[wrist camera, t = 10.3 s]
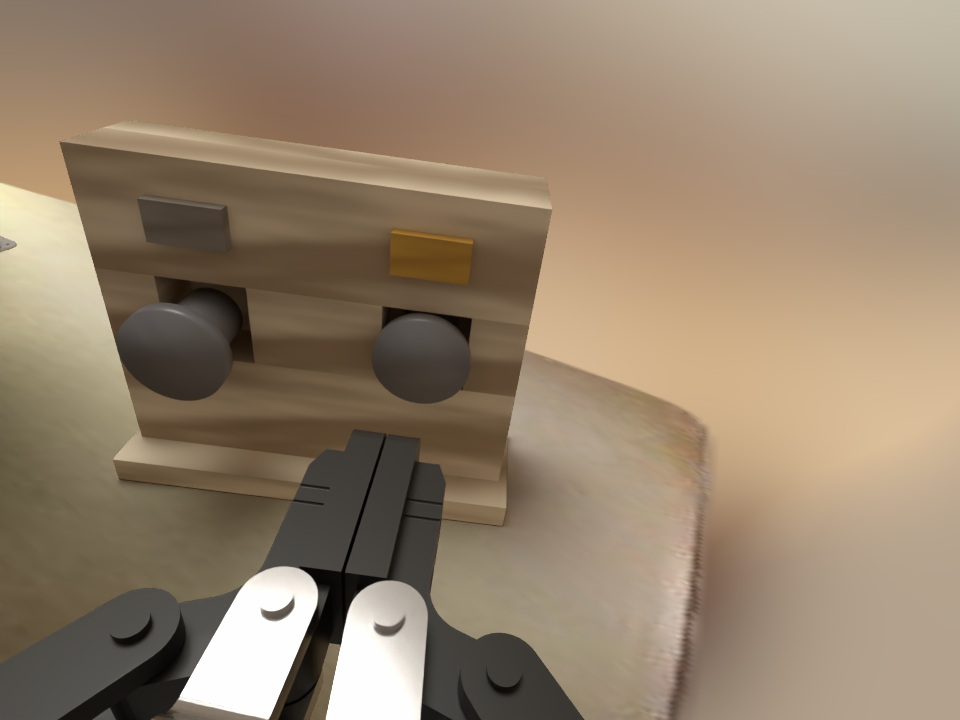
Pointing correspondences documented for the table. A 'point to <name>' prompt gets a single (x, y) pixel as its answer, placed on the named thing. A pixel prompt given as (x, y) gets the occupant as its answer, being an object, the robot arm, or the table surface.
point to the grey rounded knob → (422, 357)
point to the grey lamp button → (182, 344)
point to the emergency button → (6, 244)
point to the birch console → (312, 298)
